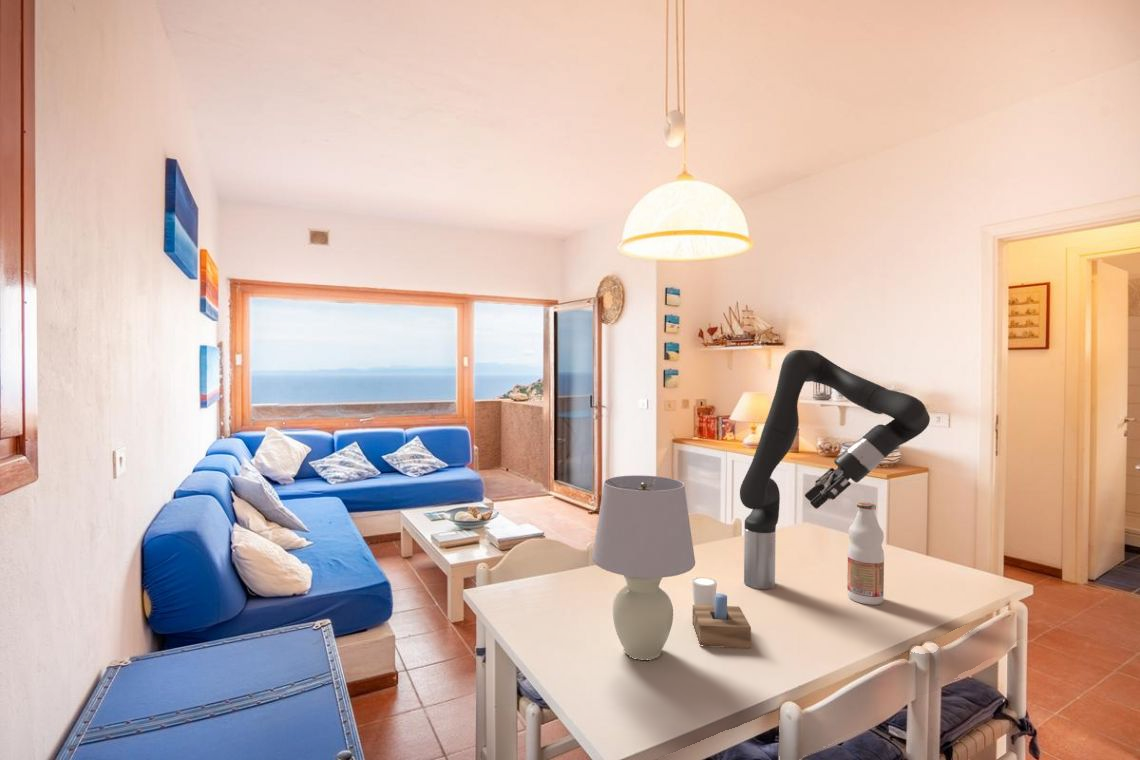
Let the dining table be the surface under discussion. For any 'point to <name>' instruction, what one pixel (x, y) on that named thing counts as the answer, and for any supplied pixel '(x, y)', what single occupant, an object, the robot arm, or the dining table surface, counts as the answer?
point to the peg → (721, 606)
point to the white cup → (704, 591)
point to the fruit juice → (866, 557)
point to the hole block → (721, 627)
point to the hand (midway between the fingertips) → (809, 502)
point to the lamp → (643, 555)
